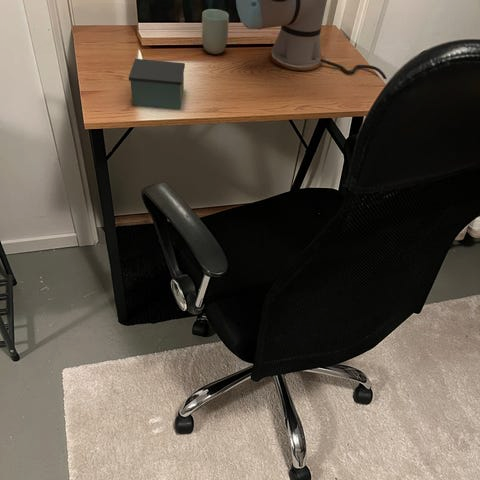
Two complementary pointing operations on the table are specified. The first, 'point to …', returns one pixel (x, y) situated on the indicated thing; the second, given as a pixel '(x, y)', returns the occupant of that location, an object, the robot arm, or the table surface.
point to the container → (157, 83)
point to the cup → (214, 30)
